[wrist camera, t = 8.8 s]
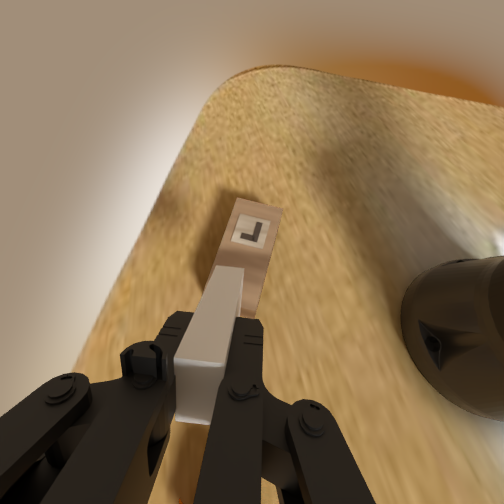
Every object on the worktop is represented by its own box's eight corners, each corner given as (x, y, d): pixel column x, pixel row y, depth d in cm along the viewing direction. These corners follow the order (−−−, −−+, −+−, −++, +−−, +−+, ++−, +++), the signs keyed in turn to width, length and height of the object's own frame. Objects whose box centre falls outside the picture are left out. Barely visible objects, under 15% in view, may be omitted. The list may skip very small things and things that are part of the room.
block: (255, 310, 22) (283, 207, 26) (201, 295, 22) (237, 195, 27) (253, 319, 27) (277, 231, 31) (208, 307, 27) (238, 221, 31)
